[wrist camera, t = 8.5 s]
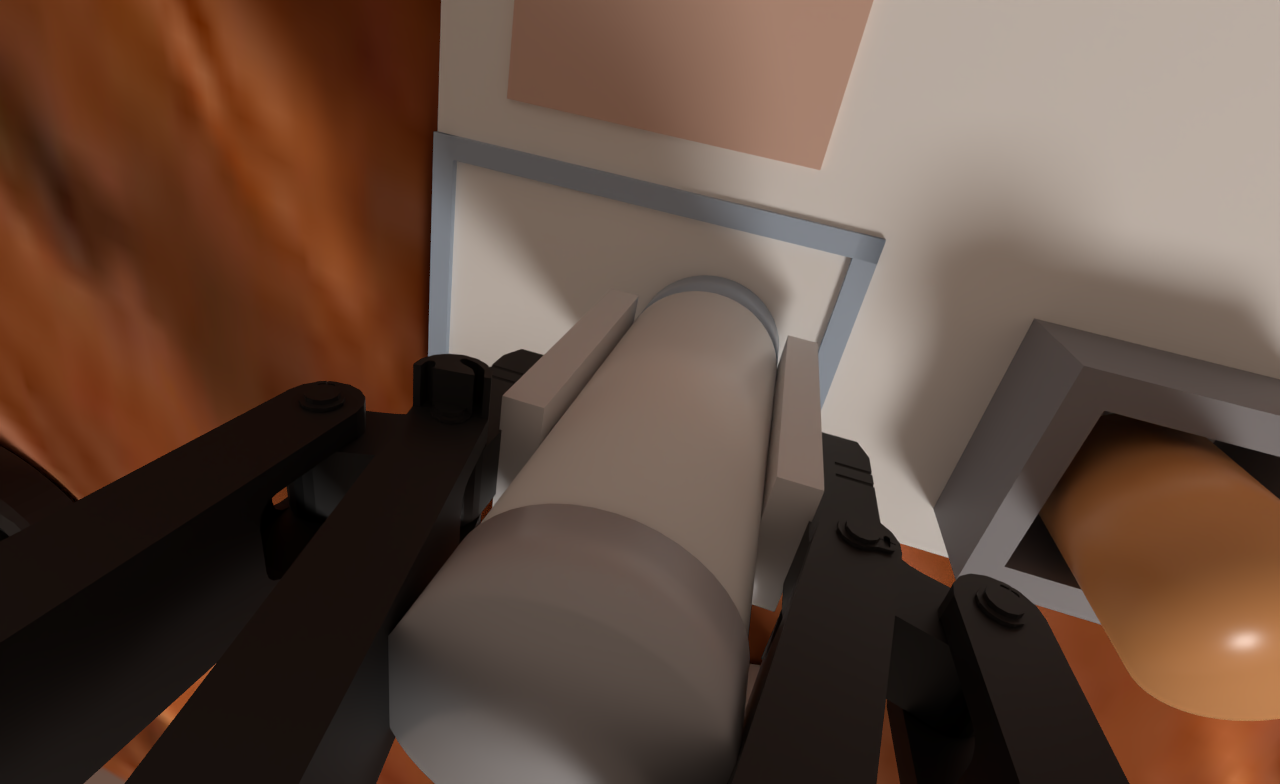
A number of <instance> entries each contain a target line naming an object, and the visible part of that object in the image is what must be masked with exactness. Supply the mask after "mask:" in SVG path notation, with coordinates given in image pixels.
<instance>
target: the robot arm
mask: <svg viewBox="0 0 1280 784" xmlns="http://www.w3.org/2000/svg"><path fill="white" fill-rule="evenodd" d="M638 298H639V296H638V295H634V294H630V293H627V292H623V291H619V290H615V289H610V290H609V291H608V292H607V293H606V294H605V295H604V296H603V297H602V298H601V299H600V300H599V301H598V302H597V303H596V304H595V305H594V306H593V307H592V308H591V309H590V310H589V311H588V312H587V313H586V314H585V315H584V316H583V317H582V318H581V319H580V320H579V321H578V322H577V323H576V324H575V325H574V326H573V327H572V328H571V329H570V330H569V331H568V332H567V333H566V334H565V335H564V336H563V337H562V338H561V339H560V340H559V341H558V342H556V343H555V344H554V345H553V346H552V347H551V348H550V349H549V350H548V351H547V352H546V353H545V354H544V355H542V354H538V353H535V352H531V351H528V350H524V349H520V350H517V351H514V352H511V353H508V354H505V355H503V356H502V357H500V358H499V359H498V360H497V361H496V362H495V363H493V364H492V367H489V366H488V365H487V364H486V363H484V362H482V361H480V360H479V359H476V358H473V357H469V356H466V355H459V354H437V355H432V356H428V357H425V358H422V359H420V360H419V361H417V362H416V363H414V365H413V407H412V408H411V409H410V411H409V412H408V413H407V414H391V413H381V412H371V411H366V406H365V396H364V395H363V393H362V392H361V391H360V390H359V389H357V388H355V387H353V386H351V385H348V384H343V383H338V382H333V381H328V382H327V381H318V382H314V383H308V384H303V385H300V386H297V387H295V388H292V389H289V390H287V391H286V392H284V393H282V394H280V395H278V396H276V397H274V398H272V399H270V400H268V401H266V402H265V403H263V404H261V405H259V406H257V407H255V408H253V409H251V410H249V411H247V412H246V413H244V414H242V415H240V416H238V417H236V418H234V419H232V420H230V421H228V422H227V423H225V424H223V425H221V426H219V427H217V428H215V429H213V430H211V431H209V432H208V433H206V434H204V435H202V436H200V437H198V438H196V439H194V440H192V441H190V442H188V443H187V444H185V445H183V446H181V447H179V448H177V449H175V450H173V451H171V452H169V453H168V454H166V455H164V456H162V457H160V458H158V459H156V460H154V461H152V462H150V463H149V464H147V465H145V466H143V467H141V468H139V469H137V470H135V471H133V472H131V473H130V474H128V475H126V476H124V477H122V478H120V479H118V480H116V481H114V482H112V483H111V484H109V485H107V486H105V487H103V488H101V489H99V490H97V491H95V492H93V493H91V494H90V495H88V496H86V497H84V498H82V499H80V500H78V501H76V502H73V501H72V500H71V499H70V498H69V497H68V496H67V495H66V494H64V493H63V492H62V491H61V490H60V489H59V488H58V487H57V486H56V485H54V484H53V483H52V482H51V481H50V480H49V479H47V478H46V477H45V476H44V475H42V474H41V473H40V472H39V471H37V470H36V469H35V468H33V467H32V466H31V465H29V464H28V463H27V462H25V461H24V460H22V459H21V458H19V457H18V456H16V455H15V454H13V453H11V452H10V451H8V450H7V449H5V448H3V447H1V446H0V784H83V783H85V782H86V780H88V779H89V778H90V777H91V776H92V775H93V774H94V773H95V772H97V771H98V770H99V769H100V768H101V767H102V766H103V765H104V764H106V763H107V762H108V761H109V760H110V759H111V758H112V757H113V756H114V755H115V754H117V753H118V752H119V751H120V750H121V749H122V748H123V747H124V746H125V745H126V744H128V743H129V742H130V741H131V740H132V739H133V738H134V737H135V736H136V735H137V734H139V733H140V732H141V731H142V730H143V729H144V728H145V727H146V726H147V725H149V724H150V723H151V722H152V721H153V720H154V719H155V718H156V717H157V716H158V715H160V714H161V713H162V712H163V711H164V710H165V709H166V708H167V707H168V706H169V705H171V704H172V703H173V702H174V701H175V700H176V699H177V698H178V697H179V696H181V695H182V694H183V693H184V692H185V691H186V690H187V689H188V688H189V687H190V686H192V685H193V684H194V683H195V682H196V681H197V680H198V679H199V678H200V677H201V676H203V675H204V674H205V673H206V672H207V671H208V670H209V669H210V668H211V667H212V666H214V665H215V664H216V665H215V666H214V667H213V668H212V670H211V671H210V672H209V674H208V675H207V676H206V678H205V679H204V680H203V682H202V683H201V684H200V686H199V687H198V688H197V689H196V691H195V692H194V693H193V695H192V696H191V697H190V699H189V700H188V701H187V703H186V704H185V705H184V706H183V708H182V709H181V710H180V712H179V713H178V714H177V716H176V717H175V718H174V720H173V721H172V722H171V723H170V725H169V726H168V727H167V729H166V730H165V731H164V733H163V734H162V735H161V737H160V738H159V739H158V740H157V742H156V743H155V744H154V746H153V747H152V748H151V750H150V751H149V752H148V754H147V755H146V756H145V758H144V759H143V760H142V761H141V763H140V764H139V765H138V767H137V768H136V769H135V771H134V772H133V773H132V775H131V776H130V777H129V778H128V780H127V781H126V782H125V784H376V782H377V780H378V778H379V775H380V773H381V770H382V768H383V765H384V763H385V761H386V758H387V756H388V753H389V751H390V748H391V746H392V744H393V741H394V739H395V735H394V734H393V732H392V730H391V729H390V716H389V656H388V636H389V634H390V633H391V632H392V631H393V629H394V628H395V627H396V625H397V624H398V623H399V622H400V620H401V619H402V618H403V616H404V615H405V614H406V612H407V611H408V610H409V609H410V607H411V606H412V605H413V603H414V602H415V601H416V600H417V598H418V597H419V596H420V594H421V593H422V592H423V591H424V589H425V588H426V587H427V585H428V584H429V583H430V582H431V580H432V579H433V578H434V576H435V575H436V574H437V573H438V571H439V570H440V569H441V567H442V566H443V565H444V563H445V562H446V561H447V560H448V558H449V557H450V556H451V554H452V553H453V552H454V551H455V549H456V548H457V547H458V545H459V544H460V543H461V542H462V541H463V539H464V538H465V537H466V536H467V535H468V534H469V533H470V532H471V531H472V530H473V529H475V528H476V527H477V526H478V525H479V524H480V522H481V512H482V511H483V510H484V508H485V507H486V506H487V505H488V503H489V502H490V501H491V499H492V498H493V505H492V507H493V506H494V505H495V504H496V502H497V501H498V500H499V498H500V497H501V496H502V494H503V493H504V492H505V490H506V489H507V488H508V487H509V485H510V484H511V483H512V481H513V480H514V479H515V477H516V476H517V475H518V473H519V472H520V471H521V470H522V468H523V467H524V466H525V464H526V463H527V462H528V460H529V459H530V458H531V456H532V455H533V454H534V452H535V451H536V450H537V449H538V447H539V446H540V445H541V443H542V442H543V441H544V439H545V438H546V437H547V435H548V434H549V433H550V432H551V430H552V429H553V428H554V426H555V425H556V424H557V422H558V421H559V420H560V418H561V417H562V416H563V415H564V413H565V412H566V411H567V409H568V408H569V407H570V405H571V404H572V403H573V401H574V400H575V399H576V398H577V396H578V395H579V394H580V392H581V391H582V390H583V388H584V387H585V386H586V384H587V383H588V382H589V381H590V379H591V378H592V377H593V375H594V374H595V373H596V371H597V370H598V369H599V367H600V366H601V365H602V364H603V362H604V361H605V360H606V358H607V357H608V356H609V354H610V353H611V352H612V350H613V349H614V348H615V347H616V345H617V344H618V343H619V341H620V340H621V339H622V337H623V336H624V335H625V333H626V332H627V331H628V330H629V328H630V327H631V326H632V324H633V323H634V318H635V313H636V308H637V303H638ZM871 473H872V471H871V465H870V459H869V457H868V455H867V454H866V453H865V451H864V450H863V449H862V448H861V446H860V445H859V444H858V442H855V441H852V440H848V439H845V438H841V437H838V436H834V435H831V434H827V433H824V432H822V426H821V405H820V383H819V361H818V343H816V342H812V341H808V340H804V339H801V338H797V337H793V336H789V335H788V337H787V340H786V343H785V346H784V349H783V352H782V355H781V358H780V361H779V364H778V367H777V373H776V383H775V392H774V401H773V411H772V420H771V429H770V439H769V448H768V457H767V467H766V476H765V485H764V494H763V504H762V513H761V522H760V532H759V541H758V551H757V560H756V569H755V579H754V588H753V597H752V605H755V606H759V607H762V608H765V609H768V610H771V611H774V612H775V609H776V607H777V604H778V602H779V600H780V597H781V595H782V592H783V599H782V610H781V612H780V615H779V617H778V619H777V622H776V624H775V627H774V629H773V631H772V634H771V636H770V638H769V641H768V643H767V646H766V648H765V650H764V653H763V655H762V658H761V659H763V660H762V663H761V666H760V669H759V672H758V674H757V677H756V680H755V683H754V686H753V689H752V692H751V694H750V697H749V700H748V703H747V706H746V709H745V714H744V724H743V734H742V743H741V746H740V750H739V754H738V758H737V762H736V764H735V767H734V769H733V771H732V773H731V776H730V778H729V780H728V782H727V784H876V782H877V773H878V764H879V755H880V746H881V737H882V728H883V719H884V711H885V702H886V699H887V711H888V716H889V722H890V728H891V733H892V739H893V745H894V750H895V756H896V762H897V768H898V773H899V779H900V784H1129V782H1128V780H1127V778H1126V776H1125V774H1124V772H1123V770H1122V768H1121V766H1120V764H1119V762H1118V760H1117V758H1116V757H1115V755H1114V753H1113V751H1112V749H1111V747H1110V745H1109V743H1108V741H1107V739H1106V737H1105V735H1104V733H1103V731H1102V729H1101V727H1100V725H1099V723H1098V721H1097V719H1096V717H1095V715H1094V713H1093V711H1092V709H1091V707H1090V705H1089V703H1088V701H1087V699H1086V697H1085V695H1084V693H1083V691H1082V689H1081V687H1080V685H1079V683H1078V681H1077V679H1076V678H1075V676H1074V674H1073V672H1072V670H1071V668H1070V666H1069V664H1068V662H1067V660H1066V658H1065V656H1064V654H1063V652H1062V650H1061V648H1060V646H1059V644H1058V642H1057V640H1056V638H1055V636H1054V634H1053V632H1052V630H1051V628H1050V626H1049V624H1048V622H1047V620H1046V619H1045V618H1044V616H1043V615H1042V613H1041V612H1040V611H1039V609H1038V608H1037V607H1036V606H1035V605H1034V604H1033V603H1032V602H1031V601H1030V600H1029V599H1027V598H1026V597H1025V596H1024V595H1023V594H1022V593H1021V592H1019V591H1018V590H1016V589H1015V588H1012V587H1011V586H1010V585H1008V584H1006V583H1004V582H1001V581H999V580H996V579H994V578H991V577H988V576H985V575H978V574H972V573H971V574H966V575H961V576H959V577H958V578H957V579H956V581H955V582H954V583H953V585H952V586H951V588H949V587H947V586H946V585H944V584H942V583H940V582H938V581H936V580H934V579H932V578H930V577H928V576H926V575H924V574H923V573H921V572H919V571H918V570H916V569H914V568H913V567H911V566H910V565H908V564H907V563H906V562H904V561H903V560H902V559H901V558H902V552H901V547H900V543H899V541H898V540H897V539H896V537H895V536H894V535H893V533H892V532H891V531H890V530H889V529H887V528H886V527H885V526H884V525H882V524H881V522H880V516H879V511H878V505H877V499H876V493H875V488H874V487H873V485H874V482H873V476H872V475H871ZM286 486H287V493H288V497H287V498H286V499H284V500H283V501H281V502H280V503H278V504H276V505H273V503H272V497H273V496H274V495H275V494H276V493H278V492H279V491H281V490H282V489H283V488H285V487H286Z"/></svg>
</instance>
